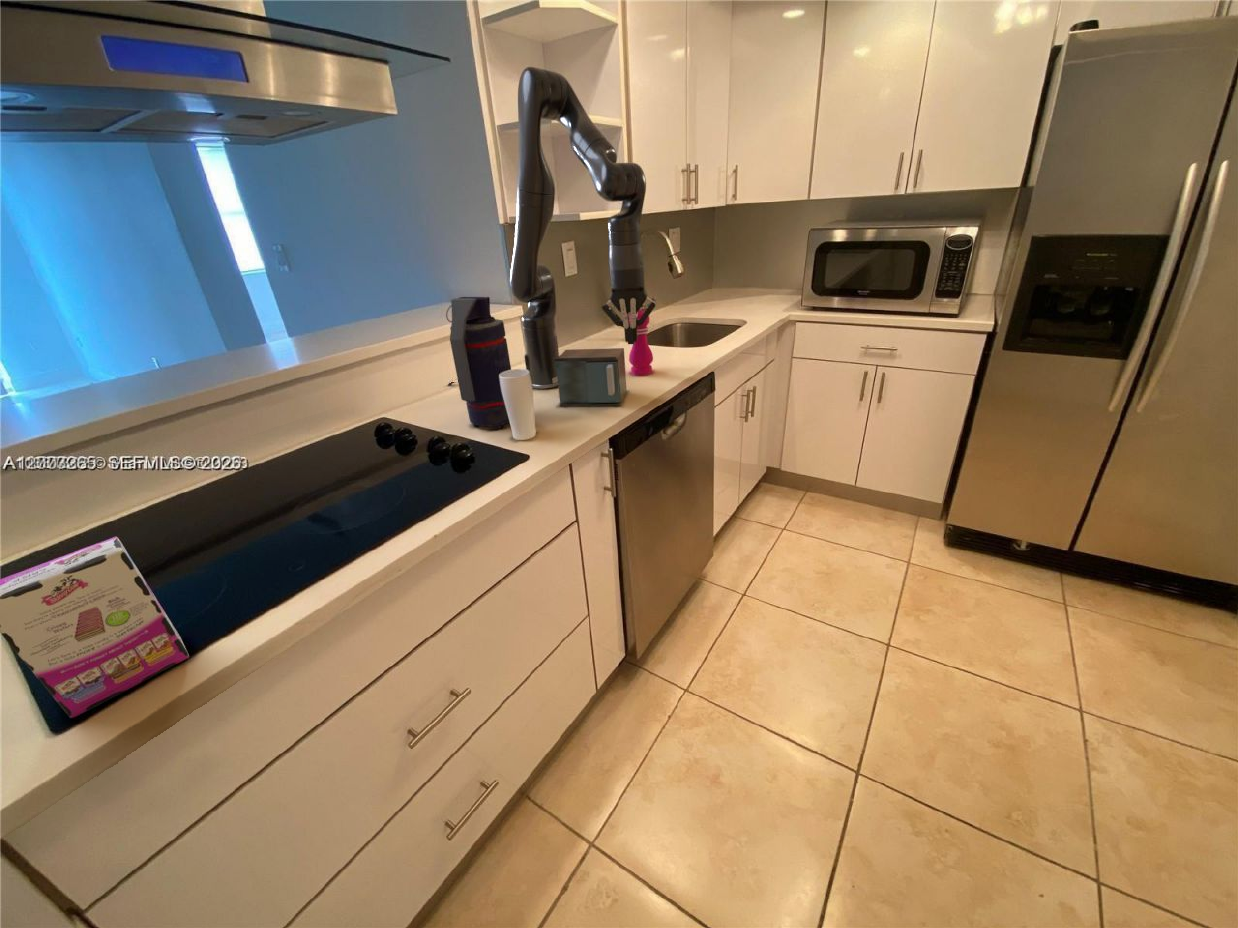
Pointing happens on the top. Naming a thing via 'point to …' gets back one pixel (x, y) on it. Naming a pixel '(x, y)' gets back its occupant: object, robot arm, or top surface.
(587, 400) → the cabinet
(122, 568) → the candy bar box
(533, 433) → the drinking glass
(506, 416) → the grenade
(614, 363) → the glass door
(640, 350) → the pepper mill
